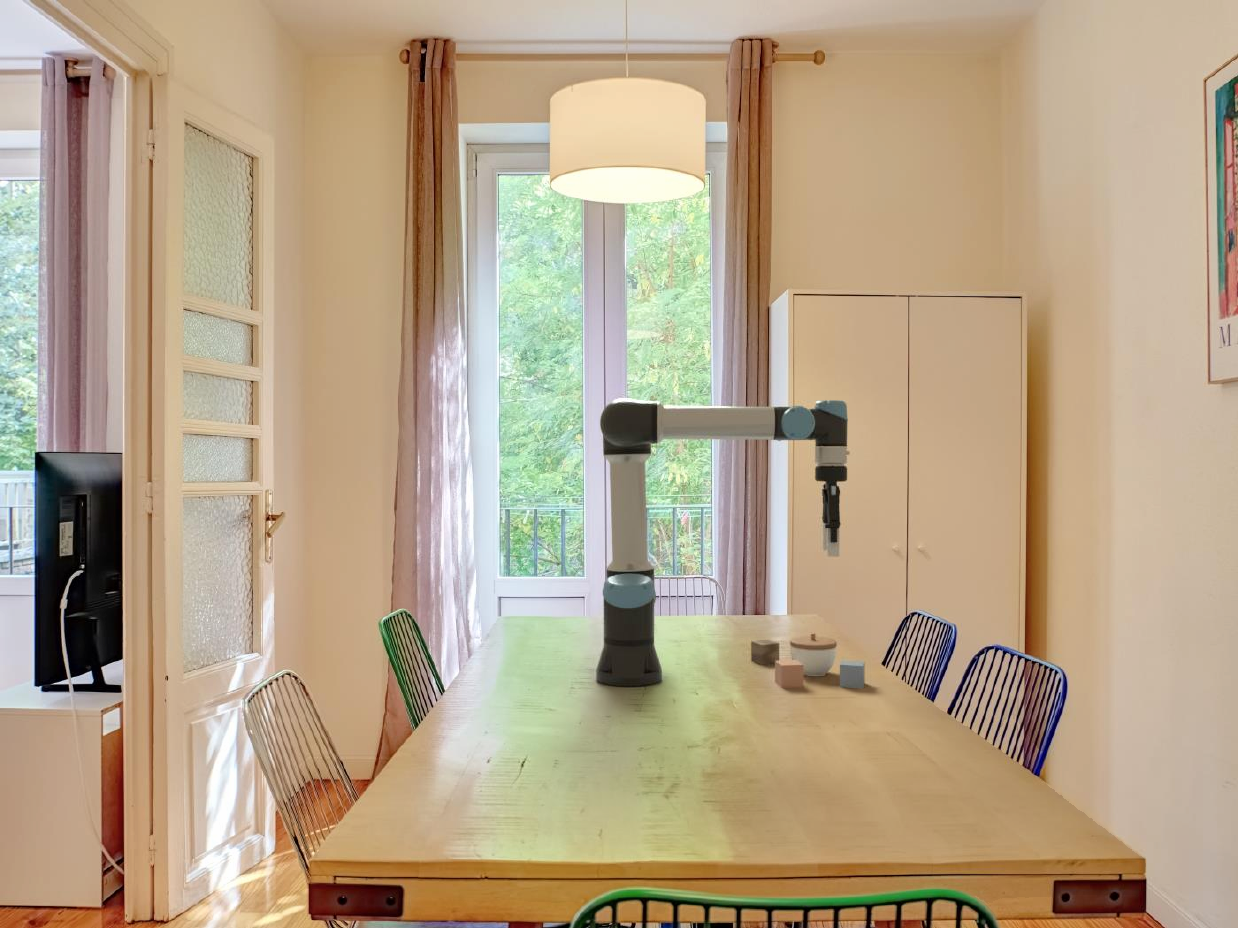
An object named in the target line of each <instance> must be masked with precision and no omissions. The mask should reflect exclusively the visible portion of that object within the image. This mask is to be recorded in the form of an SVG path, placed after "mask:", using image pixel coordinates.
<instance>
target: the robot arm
mask: <svg viewBox="0 0 1238 928" xmlns="http://www.w3.org/2000/svg"><path fill="white" fill-rule="evenodd" d="M847 408H848V405H847V403H846V401H843V400H838V399H837V400H831V399H830V400H817V401H816V402H815V406H814V408H807V407H804V406H802V405H793V406H732V405H731V406H725V405H723V406H719V405H718V406H715V405H713V406H712V405H710V406H709V405H708V406H707V405H706V406H702V405H701V406H699V405H697V406H695V405H694V406H691V405H690V406H689V405H680V406H679V405H663V403H661V402H660V401H648V400H638V399H634V398H628V397H627V398H626V397H623V398H618V399H614V400H612V401H611V402H610V403H608V404H607V405H606V406H605V407H604V409H603V410H602V413H601V415H600V418H599V419H600V420H599V427H600V431H601V434H602V443H603V444H602V445H603V446H602V453H603V457H604V458H605V460H606V461H608V463H609V477H610V479H609V481H610V482H609V483H610V485H609V486H610V487H609V488H610V517H611V519H610V520H611V523H610V524H611V552H612V553H611V556H612V559H611V562H610V563H609V564H608V566H606V568H605V569H606V579H605V581H604V583H603V588H602V596H603V647H602V650H601V653H600V655H599V656H600V657H599V660H598V663H597V667H596V670H595V672H596V673H595V674H596V675H595V679H596V681H597V682H599V683H601V684H604V685H609V686H615V687H617V686H618V687H641V686H642V687H643V686H650V685H653V684H657V683H660V682H661V681H662V680H663V669H662V668H663V667H662V666H661V662H660V660H659V656H658V652H657V650H656V647H655V604H656V601H657V599H656V598H657V596H656V595H657V594H656V592H657V591H656V589H655V566H654V565H653V564H652V563H651V562H650V561H649V560H648V525H647V524H648V523H647V519H648V518H647V490H646V488H647V485H646V484H647V483H646V462H647V460H648V459H649V458H651V456H652V444H655V445H656V444H660V443H661V442H662V441H663V440H770V441H778V442H779V441H780V442H781V441H814V443H815V444H814V445H815V446H814V463H815V464H817V465H816V466H815V468H814V470H815V471H814V480H815V481H816V482H825V483H823V485H822V490H821V495H822V516H821V519H822V551H826V554H827V555H826V556H827V557H830V558H831V557H832V558H833V557H837V558H839V557H840V527H841V515H840V513H841V512H840V503H841V500H840V497H841V490H840V486H839V485H838V483H839V482H842V483H843V482H846V481H848V466H846V465H845V464H847V463H848V456H849V455H850V453H851V452H850V451H849V450H847V449H848V421H849V419H848V409H847Z"/></svg>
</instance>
